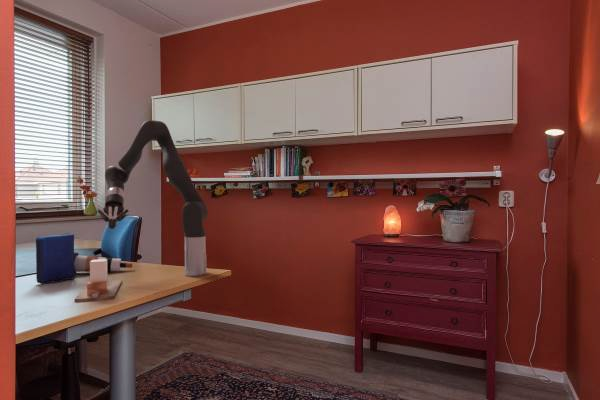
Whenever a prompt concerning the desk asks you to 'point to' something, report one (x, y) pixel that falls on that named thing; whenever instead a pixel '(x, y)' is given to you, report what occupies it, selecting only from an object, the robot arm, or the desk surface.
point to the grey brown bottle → (84, 261)
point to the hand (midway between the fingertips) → (112, 227)
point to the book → (55, 258)
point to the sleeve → (98, 270)
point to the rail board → (101, 296)
